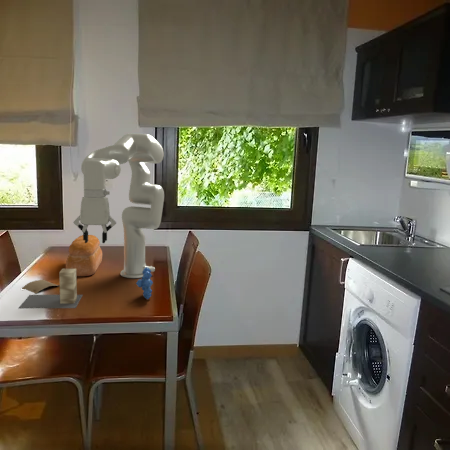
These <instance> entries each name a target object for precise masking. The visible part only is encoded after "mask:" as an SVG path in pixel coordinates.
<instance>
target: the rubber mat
mask: <svg viewBox="0 0 450 450" xmlns="http://www.w3.org/2000/svg"><path fill="white" fill-rule="evenodd" d="M83 295H84V294H77V299H76V301H75V303H73V304H60V294H29V295H28V296H27V298H25V300H24V301H23V302H22V303H21V304H20V306H19V307H18V309H76V308H77V307H78V305H79V303H80V301H81V299H82V297H83Z"/></svg>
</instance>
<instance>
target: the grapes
mask: <svg viewBox="0 0 450 450" xmlns="http://www.w3.org/2000/svg"><path fill="white" fill-rule="evenodd" d="M142 273H143V274H144V275H143V277H141V278H138V280H137V282H136V283H135V285H137V287H138V288H141V289H142V291H143V292H142V295H143V297H144V298H145V300H149V299H150V298H151V297H152V292H153V290H152V289H151V287H152V285H153V284H154V282H153V280H152V279H151V277H152V276H153V275H152V271H151V270H150V269H149V268H148V267H146V268H145V269H144V270H143V272H142Z"/></svg>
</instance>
